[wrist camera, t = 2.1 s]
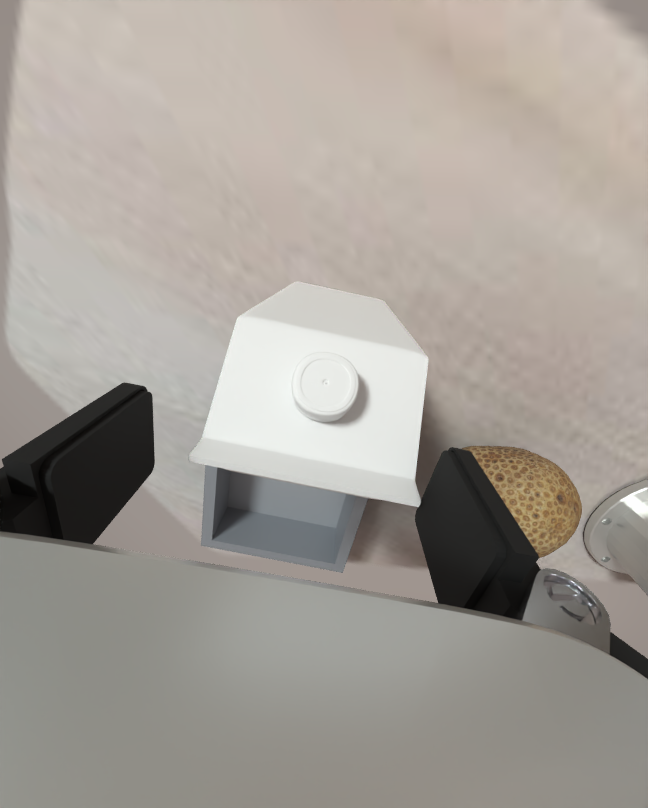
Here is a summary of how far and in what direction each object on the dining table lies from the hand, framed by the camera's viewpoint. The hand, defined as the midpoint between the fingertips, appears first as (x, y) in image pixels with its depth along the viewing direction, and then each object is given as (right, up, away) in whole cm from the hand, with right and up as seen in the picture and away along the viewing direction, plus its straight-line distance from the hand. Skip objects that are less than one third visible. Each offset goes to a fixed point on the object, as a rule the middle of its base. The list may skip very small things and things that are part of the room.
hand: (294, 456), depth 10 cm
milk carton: (+2, +8, +17) cm, 18 cm away
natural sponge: (+16, -4, +21) cm, 27 cm away
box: (-2, -5, +23) cm, 23 cm away
